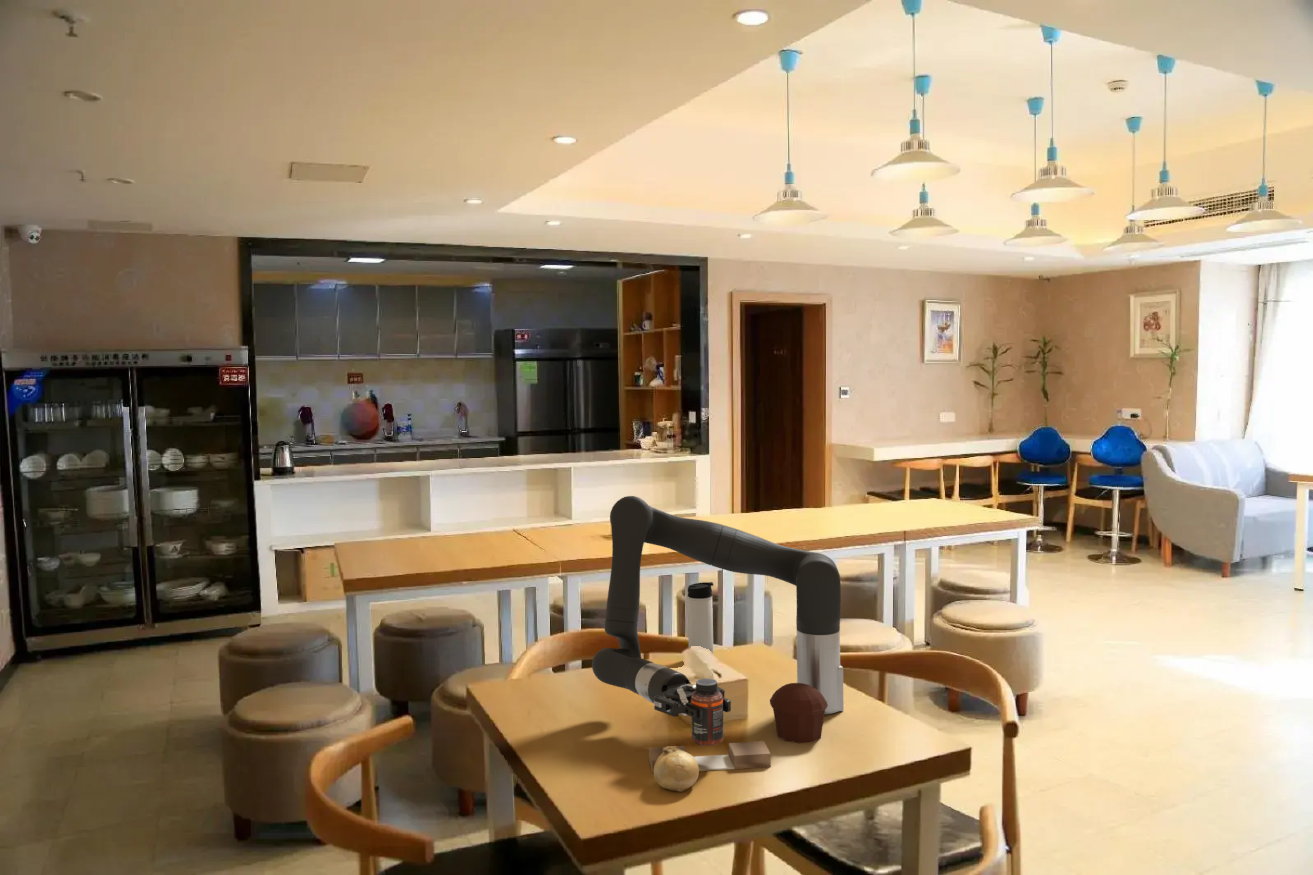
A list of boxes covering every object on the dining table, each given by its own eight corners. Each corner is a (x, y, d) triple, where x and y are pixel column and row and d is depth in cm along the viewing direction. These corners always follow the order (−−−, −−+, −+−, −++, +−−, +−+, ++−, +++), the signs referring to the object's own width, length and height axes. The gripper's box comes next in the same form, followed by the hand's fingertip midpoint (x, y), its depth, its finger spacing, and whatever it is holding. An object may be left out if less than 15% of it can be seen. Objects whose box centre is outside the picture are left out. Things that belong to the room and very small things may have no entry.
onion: (694, 775, 171) (694, 737, 170) (703, 794, 163) (702, 754, 162) (651, 779, 170) (650, 740, 169) (657, 798, 162) (656, 758, 161)
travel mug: (715, 664, 236) (714, 585, 235) (689, 664, 236) (687, 586, 235) (714, 656, 242) (712, 580, 241) (688, 657, 242) (687, 580, 241)
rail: (763, 753, 179) (763, 741, 179) (770, 766, 173) (770, 753, 173) (649, 761, 177) (649, 748, 177) (652, 774, 171) (652, 760, 171)
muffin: (839, 734, 188) (839, 685, 188) (806, 750, 181) (806, 699, 180) (791, 720, 197) (791, 673, 196) (758, 735, 189) (757, 686, 188)
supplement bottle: (727, 736, 177) (726, 678, 176) (718, 748, 171) (718, 688, 171) (696, 733, 179) (696, 674, 178) (687, 744, 173) (686, 685, 173)
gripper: (632, 674, 182) (684, 699, 168) (690, 660, 190) (745, 682, 177) (632, 712, 182) (684, 739, 169) (691, 696, 191) (745, 721, 177)
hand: (715, 710), depth 173 cm, fingers closed on supplement bottle, 6 cm apart
